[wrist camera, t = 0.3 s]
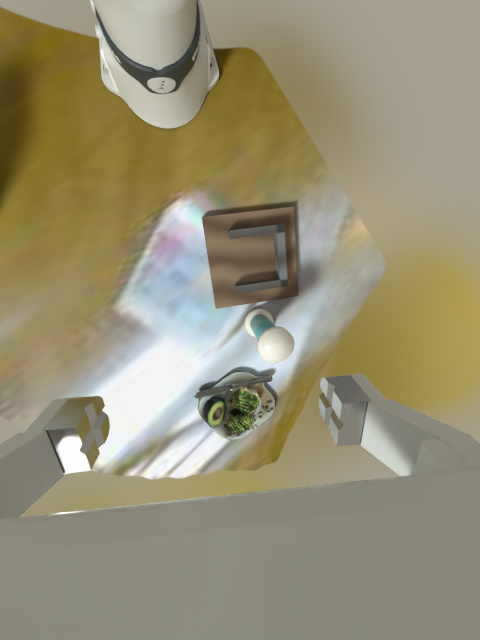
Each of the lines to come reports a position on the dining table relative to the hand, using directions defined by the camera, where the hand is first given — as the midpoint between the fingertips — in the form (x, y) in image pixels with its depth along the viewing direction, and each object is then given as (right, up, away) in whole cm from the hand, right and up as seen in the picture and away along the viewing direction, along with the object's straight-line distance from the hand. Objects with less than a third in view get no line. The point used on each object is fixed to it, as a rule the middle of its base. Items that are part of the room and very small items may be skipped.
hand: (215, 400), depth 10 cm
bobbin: (+5, +3, +49) cm, 50 cm away
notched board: (+3, +16, +45) cm, 48 cm away
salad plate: (-1, -17, +55) cm, 58 cm away
